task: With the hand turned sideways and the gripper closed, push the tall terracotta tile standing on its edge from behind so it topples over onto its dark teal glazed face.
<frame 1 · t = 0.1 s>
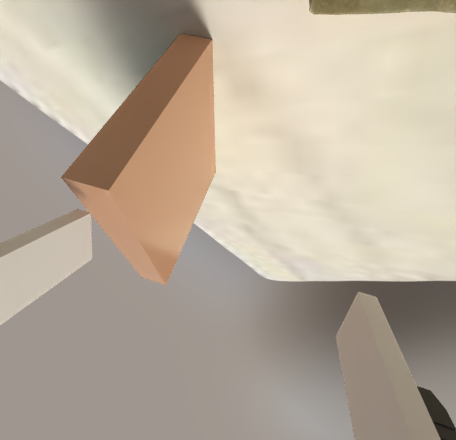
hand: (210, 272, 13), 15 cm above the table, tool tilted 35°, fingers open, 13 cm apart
standing tile: (202, 119, 25), on the table
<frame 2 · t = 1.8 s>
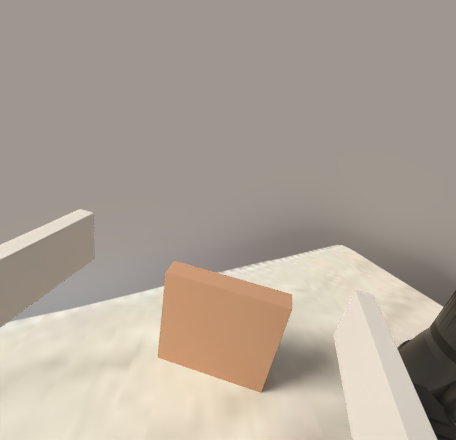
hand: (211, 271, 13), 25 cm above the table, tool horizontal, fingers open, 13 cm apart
standing tile: (210, 366, 35), on the table
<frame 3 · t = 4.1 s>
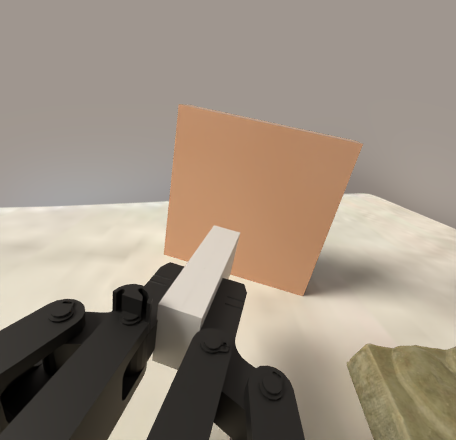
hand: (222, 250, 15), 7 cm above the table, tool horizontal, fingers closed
standing tile: (233, 268, 26), on the table
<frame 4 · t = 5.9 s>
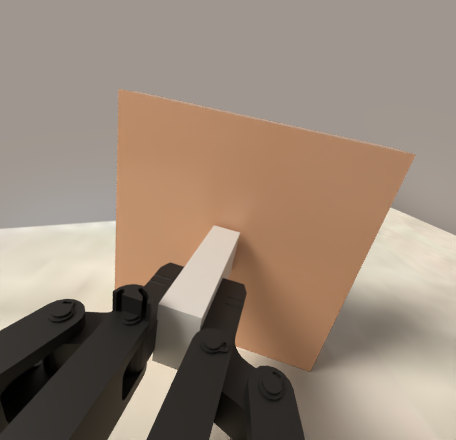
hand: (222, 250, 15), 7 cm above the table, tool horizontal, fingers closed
standing tile: (212, 323, 19), on the table, touching gripper
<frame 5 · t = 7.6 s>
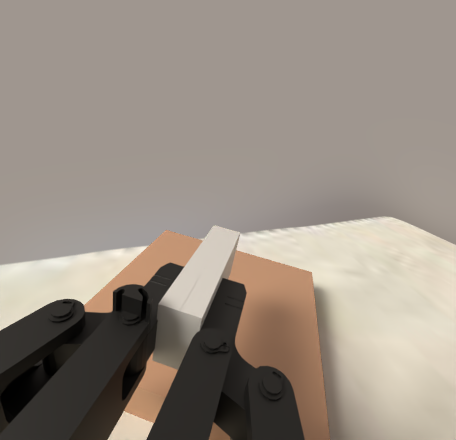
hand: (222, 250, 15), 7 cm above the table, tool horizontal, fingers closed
standing tile: (170, 416, 12), point 1 cm above the table, tilted 90°
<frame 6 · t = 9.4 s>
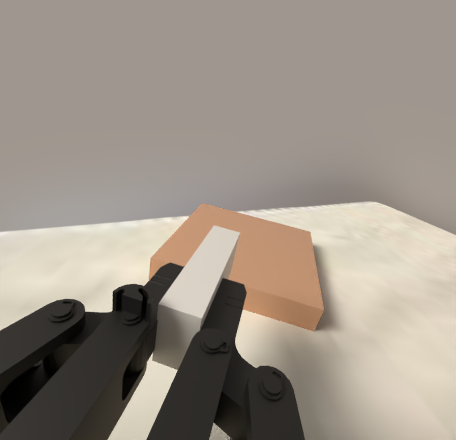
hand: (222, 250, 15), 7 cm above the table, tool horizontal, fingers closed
standing tile: (230, 294, 21), point 1 cm above the table, tilted 90°
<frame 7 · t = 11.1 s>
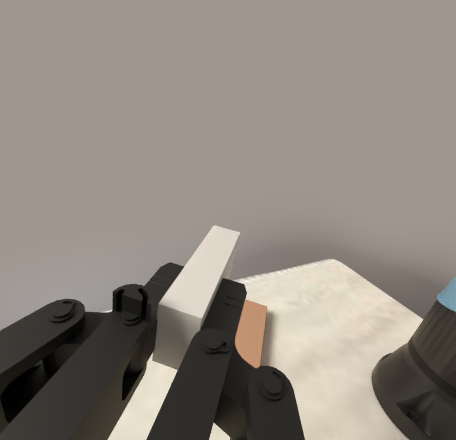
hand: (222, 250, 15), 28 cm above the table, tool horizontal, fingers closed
standing tile: (211, 359, 39), point 1 cm above the table, tilted 90°
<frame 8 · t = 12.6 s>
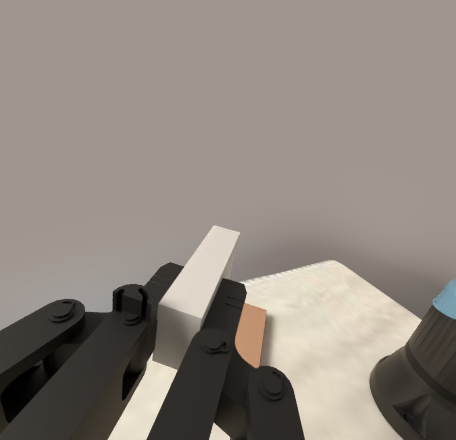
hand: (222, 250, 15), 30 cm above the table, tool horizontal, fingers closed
standing tile: (211, 363, 40), point 1 cm above the table, tilted 90°
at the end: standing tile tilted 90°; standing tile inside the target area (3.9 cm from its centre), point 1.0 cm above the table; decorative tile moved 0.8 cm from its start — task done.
